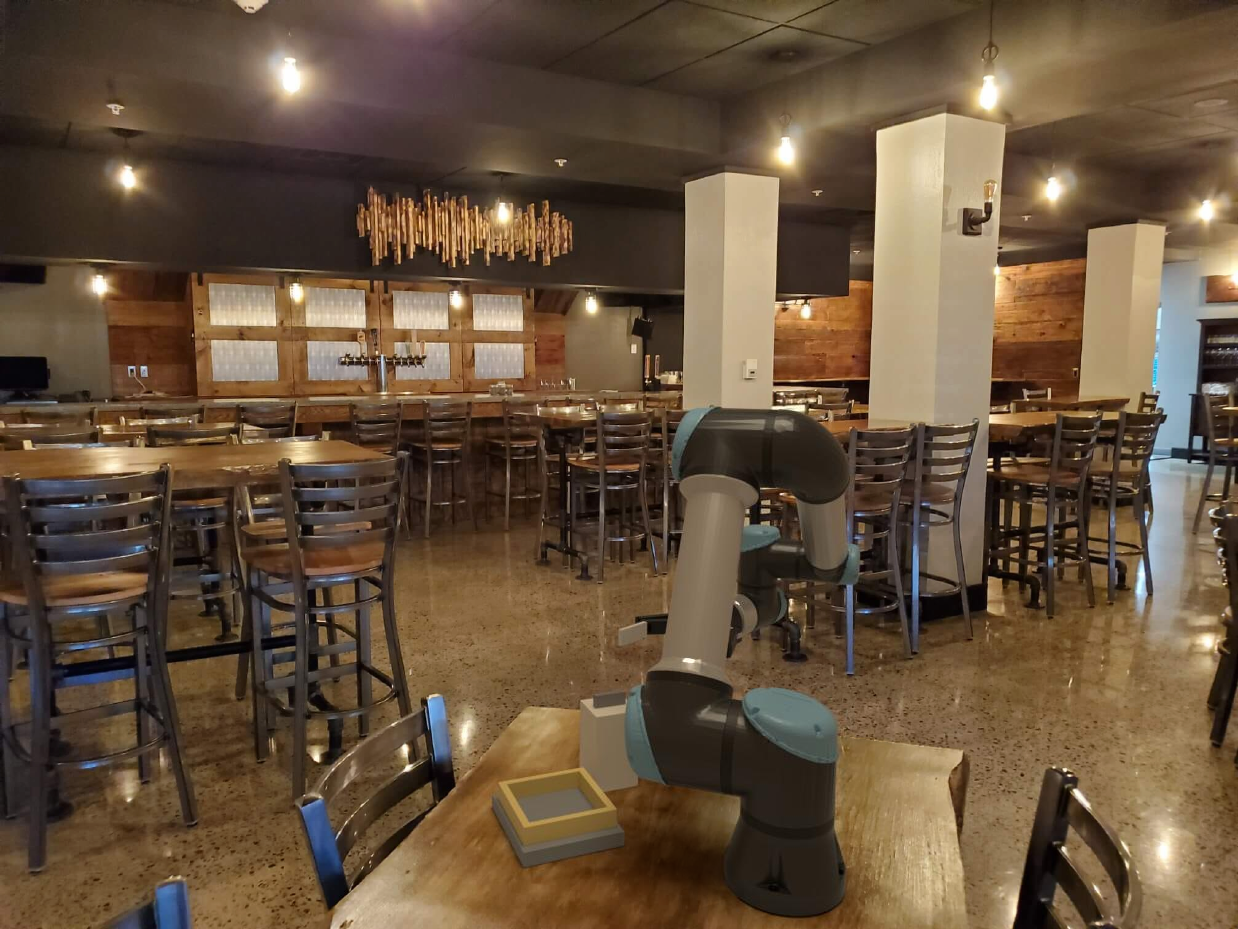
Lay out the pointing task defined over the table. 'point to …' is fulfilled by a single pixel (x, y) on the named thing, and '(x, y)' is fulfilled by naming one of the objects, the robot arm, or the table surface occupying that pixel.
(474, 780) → the table surface
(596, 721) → the beige rectangular block
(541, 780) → the tray
